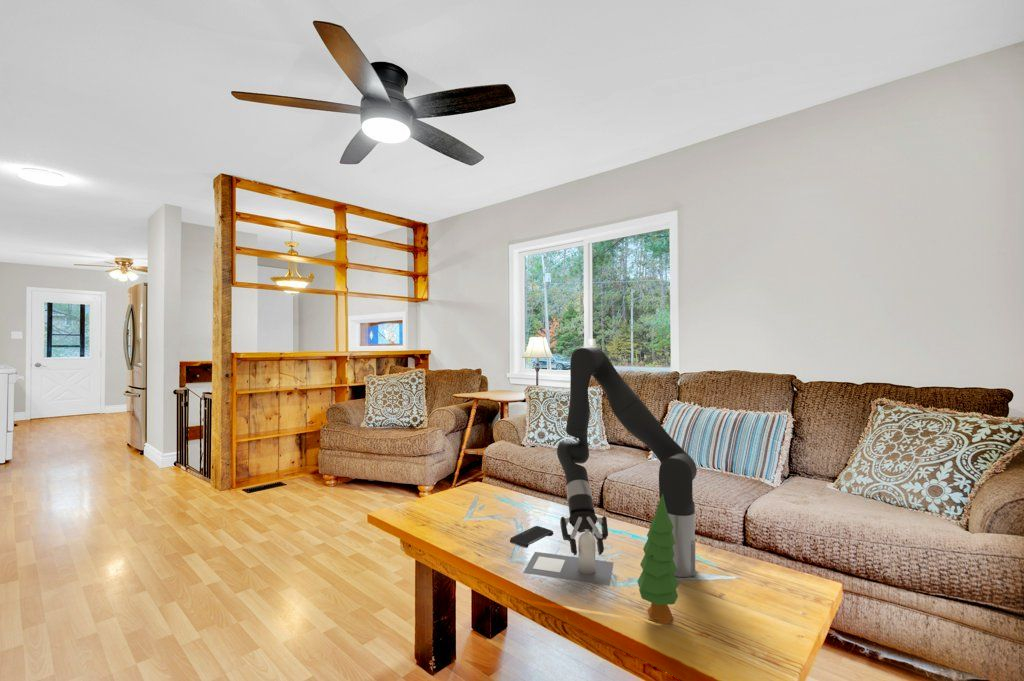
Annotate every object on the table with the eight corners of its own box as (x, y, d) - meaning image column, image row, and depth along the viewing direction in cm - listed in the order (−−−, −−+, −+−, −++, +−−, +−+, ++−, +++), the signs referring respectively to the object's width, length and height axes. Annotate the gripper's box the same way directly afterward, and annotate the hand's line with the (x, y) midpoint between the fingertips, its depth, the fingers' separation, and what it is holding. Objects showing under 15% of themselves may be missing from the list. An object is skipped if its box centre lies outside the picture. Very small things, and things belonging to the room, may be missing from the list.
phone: (554, 531, 163) (527, 545, 151) (554, 534, 163) (527, 548, 151) (536, 525, 168) (508, 538, 156) (536, 528, 168) (508, 541, 156)
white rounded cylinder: (596, 567, 137) (596, 527, 137) (594, 574, 132) (594, 533, 132) (579, 564, 138) (579, 525, 138) (577, 572, 134) (577, 531, 134)
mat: (613, 564, 140) (613, 561, 140) (609, 587, 126) (609, 585, 126) (535, 553, 147) (535, 551, 147) (523, 574, 133) (523, 572, 133)
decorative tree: (672, 632, 107) (672, 500, 107) (631, 620, 112) (631, 493, 112) (681, 612, 115) (681, 489, 115) (642, 600, 120) (643, 482, 120)
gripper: (558, 493, 142) (564, 549, 130) (605, 492, 143) (615, 548, 131) (555, 504, 148) (561, 559, 136) (600, 504, 148) (610, 558, 137)
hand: (588, 553), depth 134 cm, fingers open, 6 cm apart
